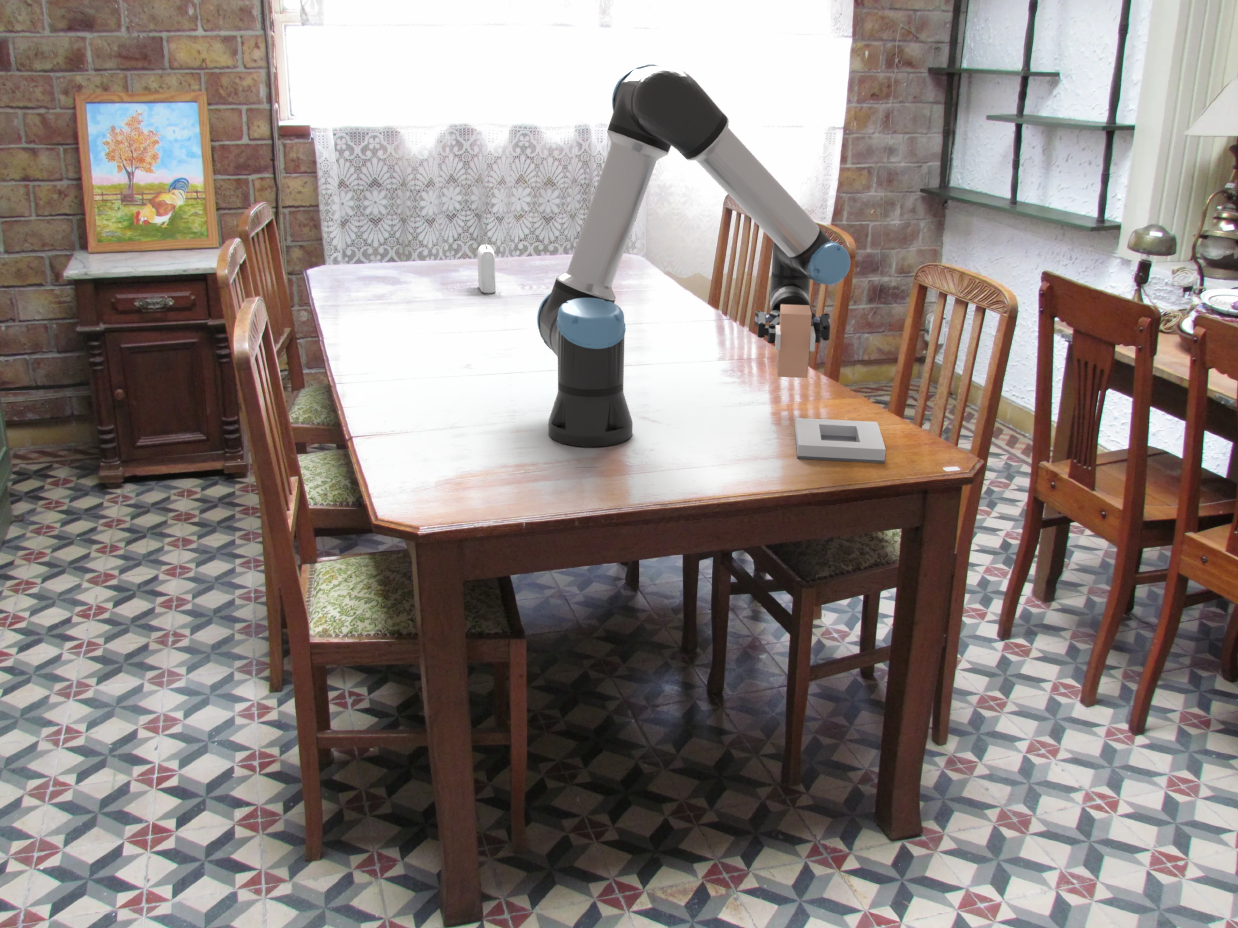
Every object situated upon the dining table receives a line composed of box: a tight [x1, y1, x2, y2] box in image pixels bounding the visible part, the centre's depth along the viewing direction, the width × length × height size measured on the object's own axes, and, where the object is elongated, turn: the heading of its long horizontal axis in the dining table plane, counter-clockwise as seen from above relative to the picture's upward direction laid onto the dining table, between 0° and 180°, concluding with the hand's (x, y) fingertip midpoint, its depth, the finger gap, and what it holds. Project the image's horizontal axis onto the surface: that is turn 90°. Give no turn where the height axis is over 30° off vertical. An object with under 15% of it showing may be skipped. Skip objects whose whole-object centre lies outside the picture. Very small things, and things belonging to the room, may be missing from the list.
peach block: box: [776, 304, 812, 379], centre depth 196 cm, size 5×7×11 cm
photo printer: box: [476, 244, 496, 294], centre depth 314 cm, size 10×4×12 cm, turn 13°
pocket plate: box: [794, 417, 887, 464], centre depth 200 cm, size 15×15×2 cm
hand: (795, 342), depth 190 cm, fingers closed on peach block, 5 cm apart
